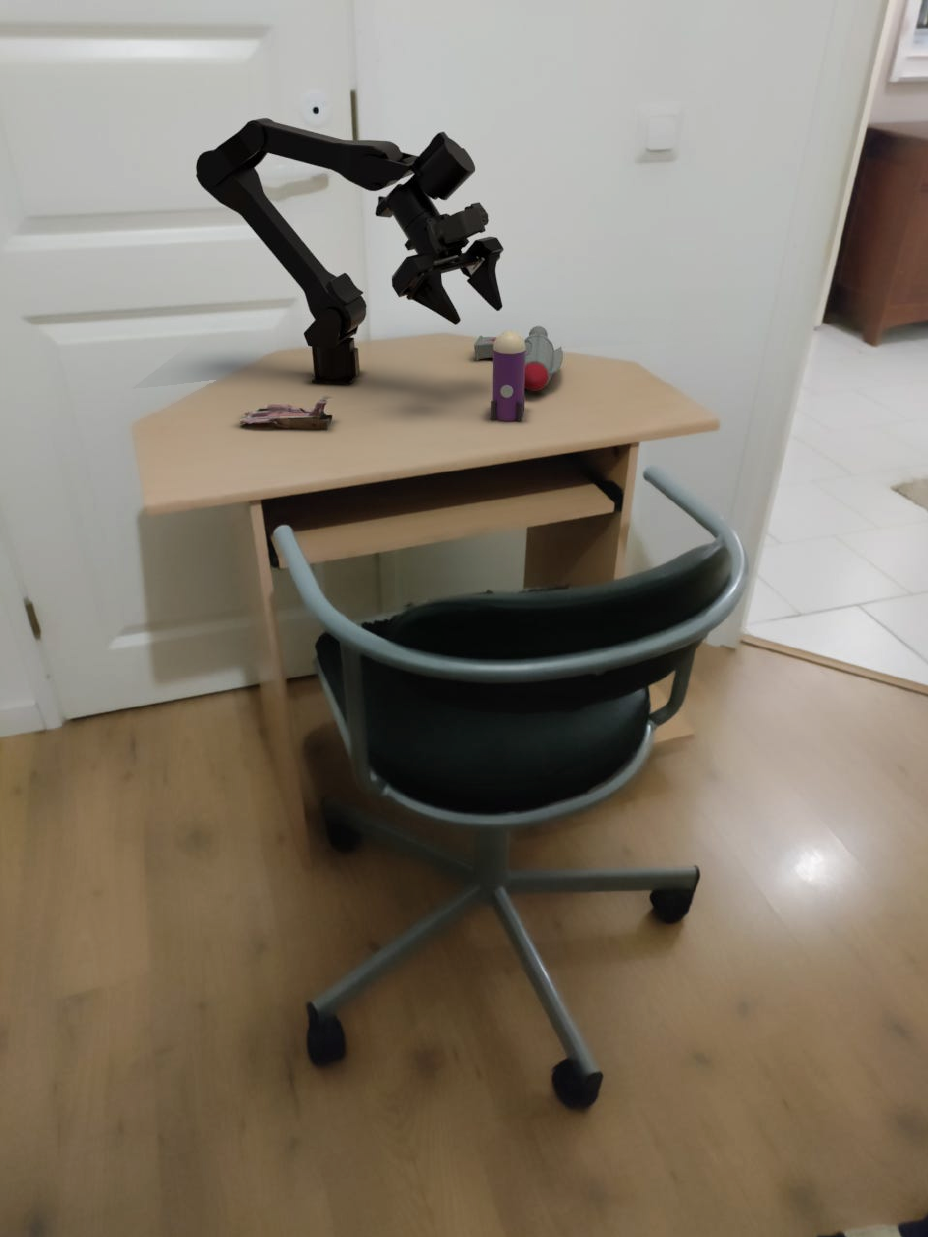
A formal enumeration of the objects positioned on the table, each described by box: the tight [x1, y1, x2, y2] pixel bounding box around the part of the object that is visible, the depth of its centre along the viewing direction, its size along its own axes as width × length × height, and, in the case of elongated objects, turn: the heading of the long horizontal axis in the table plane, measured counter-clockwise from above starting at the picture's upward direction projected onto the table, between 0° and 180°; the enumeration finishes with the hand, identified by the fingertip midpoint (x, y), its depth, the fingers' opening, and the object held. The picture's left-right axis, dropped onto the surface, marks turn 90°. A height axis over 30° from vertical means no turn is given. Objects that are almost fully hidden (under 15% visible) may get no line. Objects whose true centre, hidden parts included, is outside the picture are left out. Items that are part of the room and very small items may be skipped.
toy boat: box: [239, 395, 333, 430], centre depth 129 cm, size 13×6×4 cm, turn 84°
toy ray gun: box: [473, 325, 564, 392], centre depth 147 cm, size 6×25×15 cm
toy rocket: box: [490, 330, 526, 423], centre depth 130 cm, size 5×5×12 cm
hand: (479, 315), depth 129 cm, fingers open, 9 cm apart
